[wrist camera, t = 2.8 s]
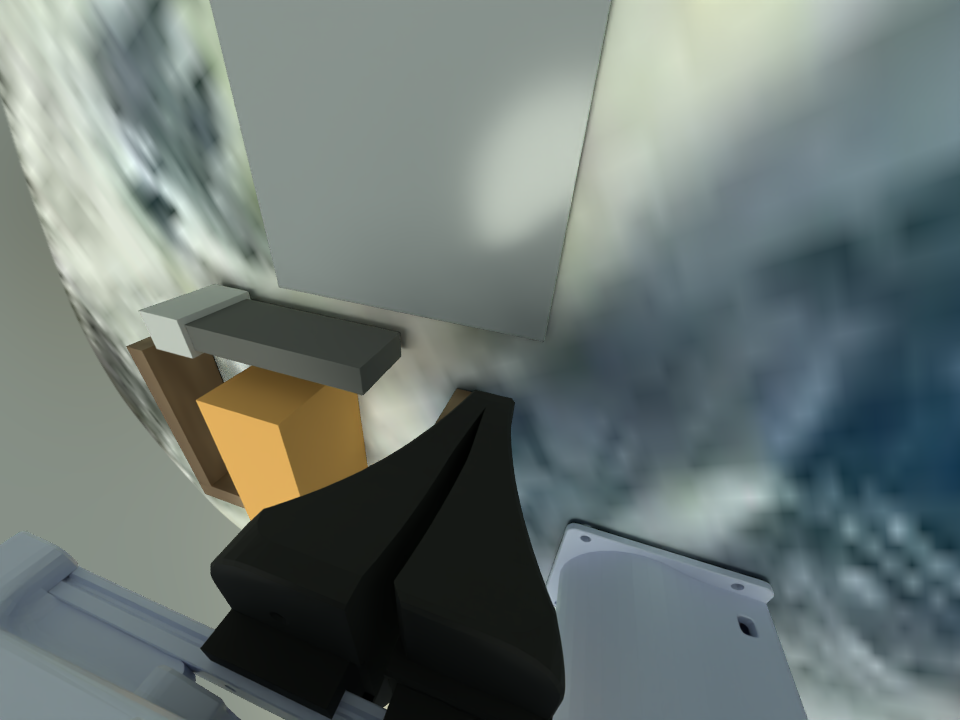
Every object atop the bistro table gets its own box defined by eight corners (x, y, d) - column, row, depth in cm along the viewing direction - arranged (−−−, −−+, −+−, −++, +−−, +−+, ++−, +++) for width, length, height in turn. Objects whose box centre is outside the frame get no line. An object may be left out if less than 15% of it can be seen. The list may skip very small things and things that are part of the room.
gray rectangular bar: (402, 324, 15) (355, 364, 12) (403, 359, 16) (360, 404, 13) (214, 284, 17) (138, 310, 14) (226, 317, 18) (156, 348, 15)
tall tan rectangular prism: (354, 360, 17) (277, 425, 13) (370, 479, 22) (318, 554, 18) (287, 343, 18) (195, 400, 14) (316, 462, 23) (255, 529, 19)
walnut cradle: (477, 393, 16) (454, 437, 14) (464, 535, 22) (447, 583, 20) (186, 321, 20) (126, 346, 17) (243, 460, 25) (205, 493, 23)
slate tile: (646, -175, 7) (648, -190, 7) (545, 337, 14) (543, 341, 13) (189, -131, 10) (175, -142, 9) (285, 284, 16) (279, 287, 16)
